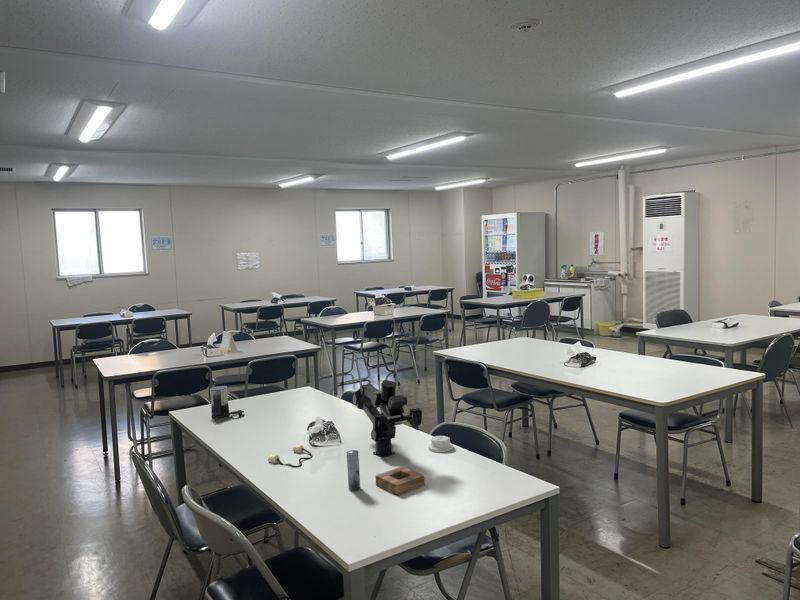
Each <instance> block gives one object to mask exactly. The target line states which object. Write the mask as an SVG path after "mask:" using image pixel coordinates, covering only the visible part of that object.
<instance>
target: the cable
mask: <svg viewBox="0 0 800 600" xmlns="http://www.w3.org/2000/svg"><path fill="white" fill-rule="evenodd" d="M291 451H292V452H293V453H295V454H301V453H303V452H305V453H307V454H308V455H310V457H309V456H308V457H300V458H299V459H298V463H299V464H298V465H295V464H294V465H293V464H290V463H283V462H282V461H281V460H280V456H279V455H277V454H270V455H268V459H267V461H268V463H271V464H277V463H279V464H280V465H281V466H288V467H291V468H295V469H297V468H300V467H302V466H303V462H302V460H310V459H312V458H313V454H312V453H311V452H310V451H309V450H307V449H305V448H304V446H303V445H302V444H300V445H299V444H296V445H294V446H293V447H292V450H291Z"/></svg>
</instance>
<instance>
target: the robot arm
mask: <svg viewBox="0 0 800 600" xmlns="http://www.w3.org/2000/svg"><path fill="white" fill-rule="evenodd" d="M408 400H409V399H408V398H407V396H405V395H400V394H399V395H397V382H396V381H393V380H388V379H383V380H382V382H381V388H380V390H379V389H378V388H376V387H375V386H374V385H373V384H371V383H367V384H362V385H360V387H359V389H357V390H356V391H355V392H354V393H353V397H352V403H353V405H354V406H355V407H356V408H357V409H359V410H362V411H363V412H364V413H365V415H366V416H367V418H368V419H369V420H370V422H371V423H372V429H371V432H370V437H371V440H372V441H373V442H375V451H372V454H373V455H375V456H378V457H380V458H384V457H388V456H391V455H394V454H395V451H394V450H393V449H392V439H396V430H397V427H396V426H399V425H403V424H404V423H409V425H411V428H413V429H415V430H416V431H419V428H420V427H419V426H420V425H421V424H422V420H423V419H422V418H423V417H422V416H423V410H422V409H420V407H417V408H416V407H415V408H410V409H409V414H407V415H404V413H405V409H404V406H407V404H408ZM379 410H380V411H379Z"/></svg>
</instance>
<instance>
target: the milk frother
mask: <svg viewBox="0 0 800 600" xmlns="http://www.w3.org/2000/svg"><path fill="white" fill-rule="evenodd" d="M209 393H210V403H211V405H210V407H211V408H210V409H211V417H212V418H214V419H218V418H219V419H220V418H224V417H228V416H230V415H231V416H232V415H238V416H242V415H243V414H244V413H245V411H244V410H242V409H238V410H233V411H231V412H230V408H229V407H230V406H229V395H228V386H227V385H219V386H218V385H217V386H212V387H210V388H209Z"/></svg>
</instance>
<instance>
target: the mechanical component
mask: <svg viewBox="0 0 800 600" xmlns="http://www.w3.org/2000/svg"><path fill="white" fill-rule="evenodd" d="M430 440H431V441H430V443H429V444H428V446H427V447H428V448H427V449H428V450H429V451H430V452H433V453H447V452H450V451H452V450H454V445H453V444H452V443H451V440H450V436H449V437H448V436H445V435H435V436H434V437H432V438H431V439H430Z"/></svg>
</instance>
